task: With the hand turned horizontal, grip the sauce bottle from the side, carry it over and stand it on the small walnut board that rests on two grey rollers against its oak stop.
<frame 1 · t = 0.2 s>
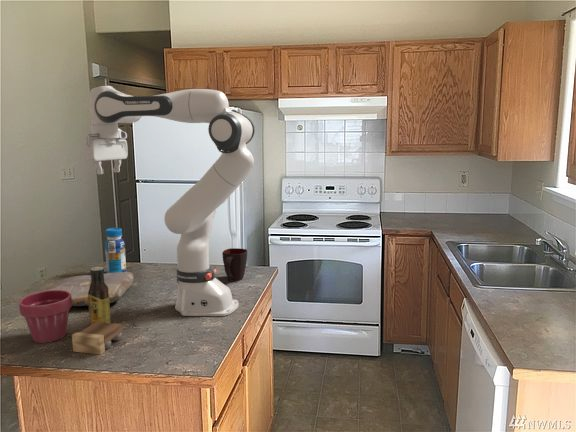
hand: (108, 173, 172), 47 cm above the counter, tool pointing down, fingers open, 8 cm apart
beverage bottle: (116, 273, 215), on the counter
plant pot: (49, 337, 150), on the counter
stone slab: (90, 298, 184), on the counter
cup: (234, 280, 204), on the counter
sauce bottle: (100, 328, 156), on the counter
roller board: (101, 342, 145), on the counter
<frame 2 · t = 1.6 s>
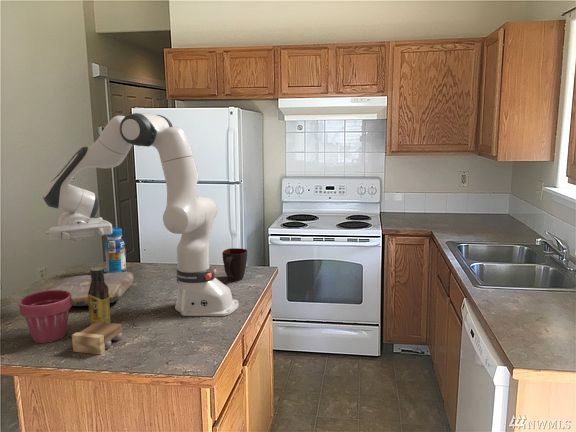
hand: (85, 235, 161), 28 cm above the counter, tool horizontal, fingers open, 8 cm apart
nothing on the counter moved.
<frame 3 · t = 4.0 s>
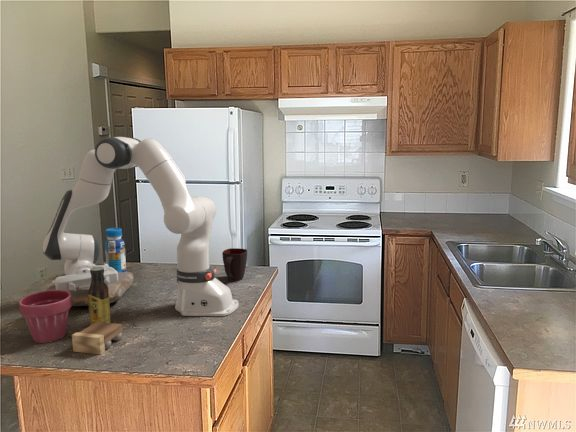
hand: (91, 285, 162), 11 cm above the counter, tool horizontal, fingers open, 8 cm apart
nothing on the counter moved.
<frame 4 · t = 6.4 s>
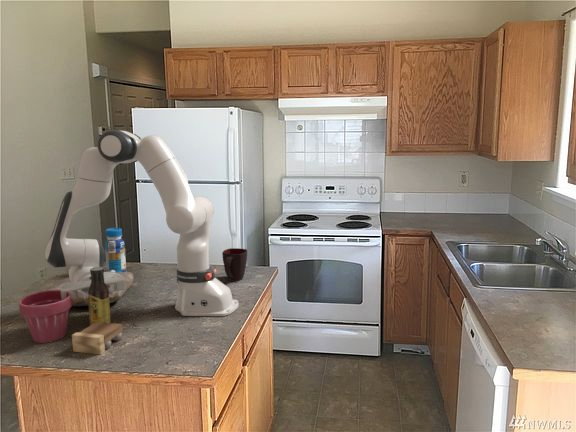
hand: (98, 294, 153), 12 cm above the counter, tool horizontal, fingers closed on sauce bottle, 6 cm apart
sauce bottle: (100, 328, 156), on the counter, touching gripper
everything else where it was.
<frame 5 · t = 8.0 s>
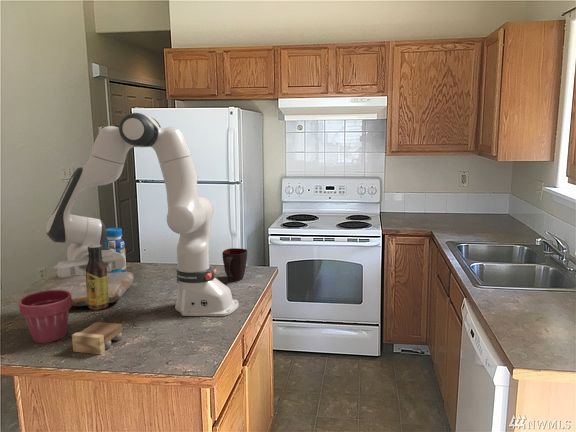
hand: (96, 271, 149), 20 cm above the counter, tool horizontal, fingers closed on sauce bottle, 6 cm apart
sauce bottle: (99, 307, 152), point 8 cm above the counter, touching gripper
everything else where it was.
when the fingers open (17 cm above the counter, at t = 9.9 s): sauce bottle stays where it is, resting on roller board.
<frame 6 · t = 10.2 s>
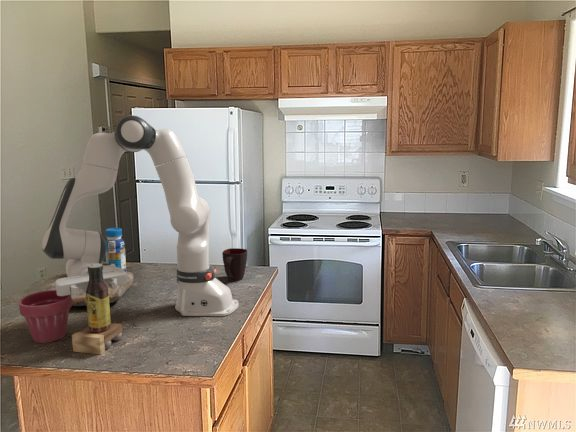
hand: (97, 289, 141), 17 cm above the counter, tool horizontal, fingers open, 8 cm apart
sauce bottle: (100, 329, 144), point 4 cm above the counter, touching roller board
everything else where it was.
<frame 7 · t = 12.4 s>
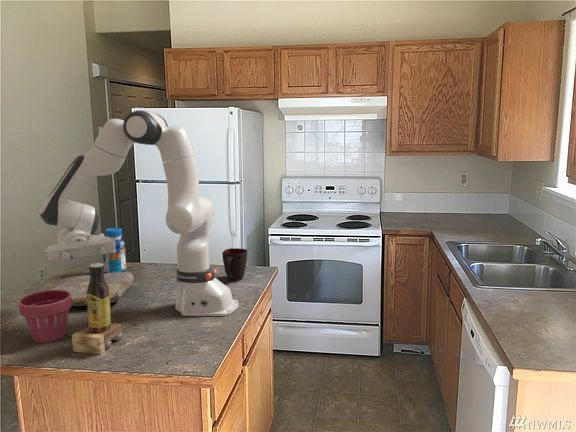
hand: (86, 254, 151), 25 cm above the counter, tool horizontal, fingers open, 8 cm apart
nothing on the counter moved.
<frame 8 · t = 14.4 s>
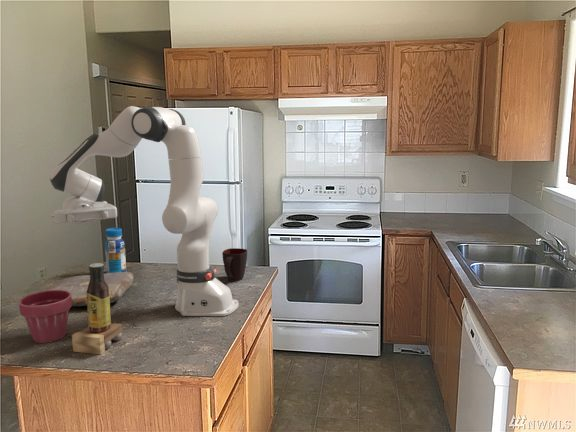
hand: (90, 217, 161), 34 cm above the counter, tool horizontal, fingers open, 8 cm apart
nothing on the counter moved.
at the end: sauce bottle inside the target area (0.3 cm from its centre), point 4.2 cm above the counter; sauce bottle touching roller board; sauce bottle tilted 0° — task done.
